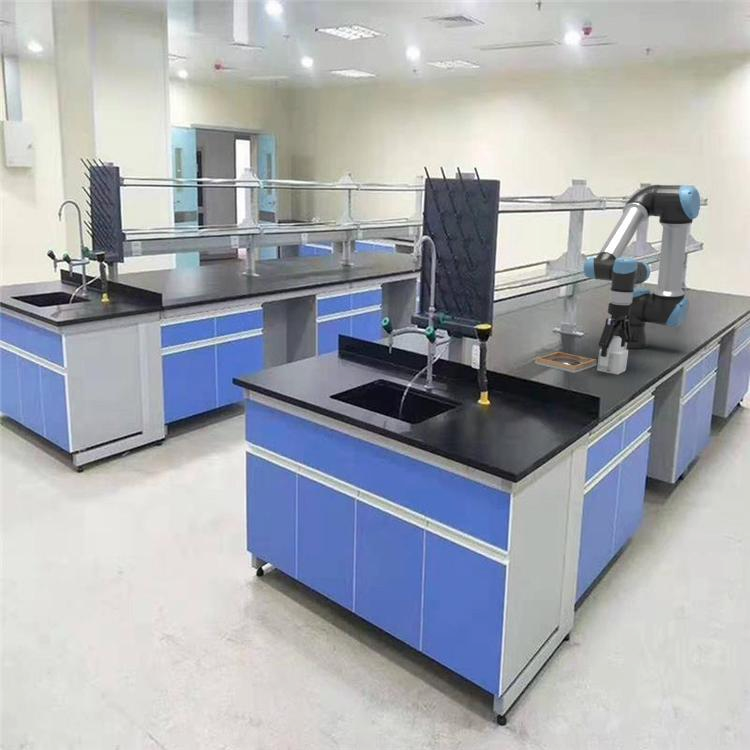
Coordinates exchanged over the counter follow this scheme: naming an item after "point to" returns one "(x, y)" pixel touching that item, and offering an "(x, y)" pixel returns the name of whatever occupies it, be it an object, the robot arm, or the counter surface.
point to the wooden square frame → (566, 362)
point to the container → (615, 356)
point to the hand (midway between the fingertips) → (612, 362)
